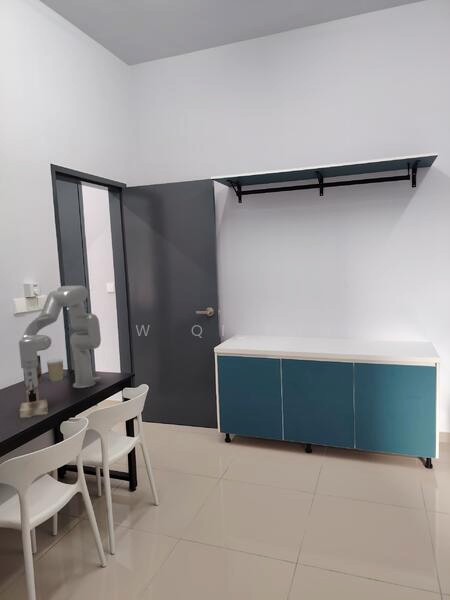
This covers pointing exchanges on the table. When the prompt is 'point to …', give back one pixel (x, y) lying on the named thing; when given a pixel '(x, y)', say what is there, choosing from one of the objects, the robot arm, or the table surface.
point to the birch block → (33, 408)
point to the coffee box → (39, 372)
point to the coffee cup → (55, 369)
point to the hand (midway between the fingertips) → (33, 399)
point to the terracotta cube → (36, 396)
